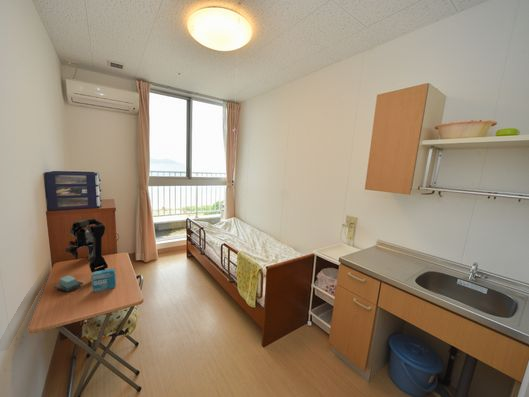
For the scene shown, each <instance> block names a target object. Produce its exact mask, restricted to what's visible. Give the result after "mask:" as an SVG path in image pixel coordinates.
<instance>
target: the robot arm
mask: <svg viewBox="0 0 529 397" xmlns="http://www.w3.org/2000/svg"><path fill="white" fill-rule="evenodd" d="M71 225H72V226H71V227H70V231H69V234H70V235H71V236H73V237H75V240H74V241H73V240H71V241H68V245H69V247H66V248H65V252H66V253H69V254H71V255H73V257H74V258H75V260H78V258H79V257H78V256H79V254H78V250H79V249H83V248H86V247H87V246H88V248H89V255H91V253H92V251H93V257H91V258H90V260H89V263H88V265H89V269H90V273H93V272H96V271H101V270H107V269H109V268H108V266H109V265H108V263H107V261H106V259H105V258H104V256H103V254H102V250H103V248H102V246H103V244H102V241H103V240H102V238H103V236H104V235H105V231H106V226H105V225H104V224H103V222H101V221H98V220H97V219H95V218H90V219H87V220H78V221H73V223H72V224H71ZM85 228H86V229H85ZM87 230H88V231H89V232H90V235H91V236H92V237H93V241H89V242H87V239H88V238H86V231H87Z"/></svg>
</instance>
